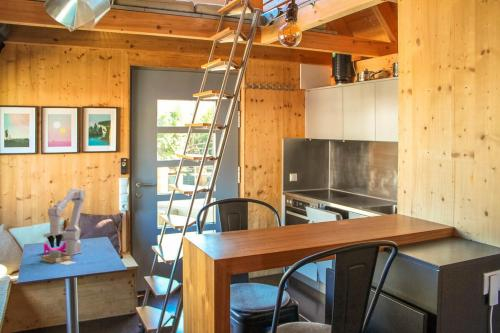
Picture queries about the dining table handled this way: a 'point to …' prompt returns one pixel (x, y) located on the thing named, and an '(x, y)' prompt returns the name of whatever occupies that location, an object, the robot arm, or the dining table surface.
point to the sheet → (55, 254)
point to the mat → (67, 262)
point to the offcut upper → (64, 254)
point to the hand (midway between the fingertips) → (55, 247)
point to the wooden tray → (51, 260)
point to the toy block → (47, 248)
